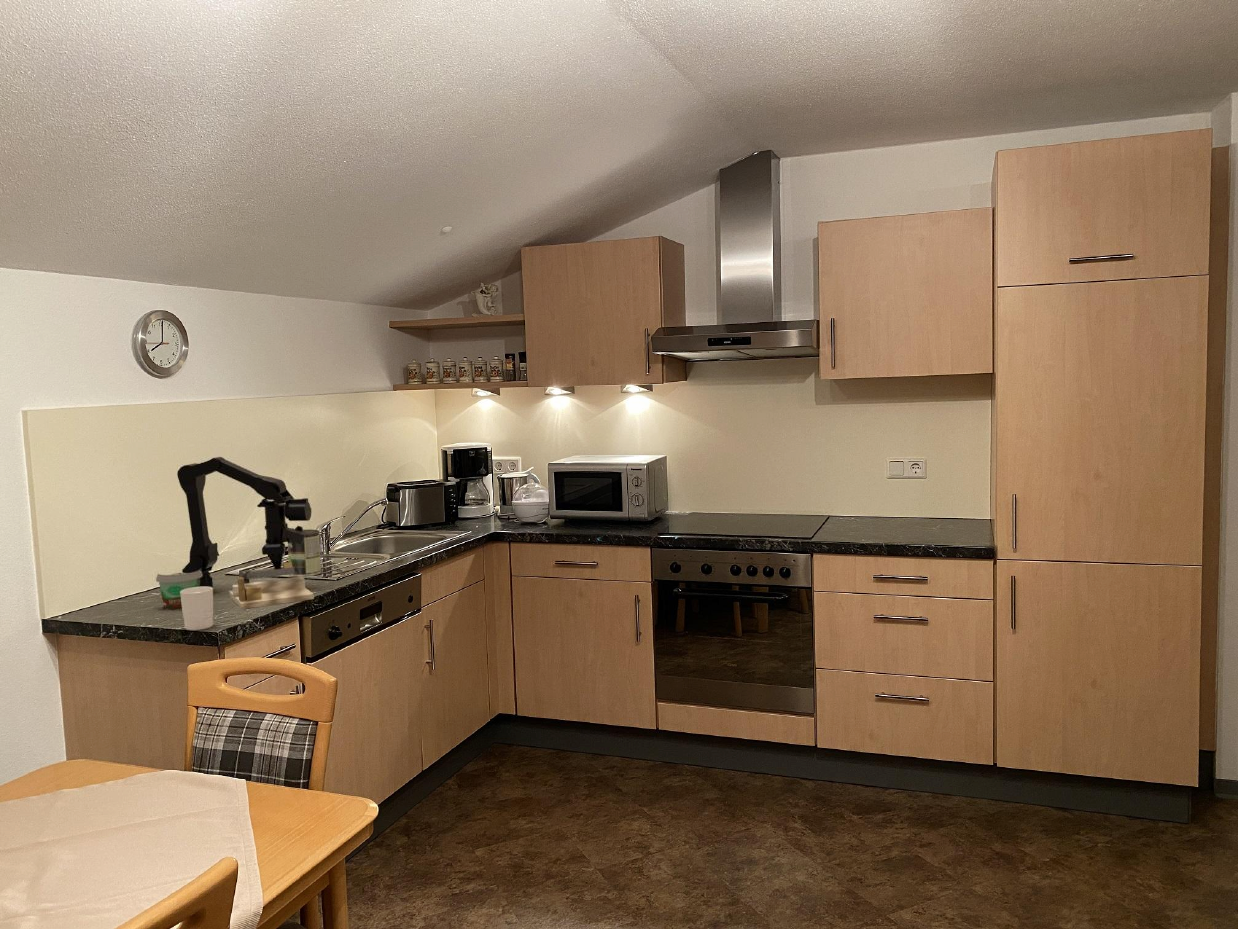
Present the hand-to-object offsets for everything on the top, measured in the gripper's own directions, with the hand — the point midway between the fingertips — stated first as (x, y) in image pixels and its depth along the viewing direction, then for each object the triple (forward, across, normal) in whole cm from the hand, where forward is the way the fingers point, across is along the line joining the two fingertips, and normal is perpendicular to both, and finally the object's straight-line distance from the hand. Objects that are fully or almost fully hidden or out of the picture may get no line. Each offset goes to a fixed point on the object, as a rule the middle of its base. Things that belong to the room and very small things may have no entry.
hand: (278, 571), depth 290 cm
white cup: (+5, -39, +15) cm, 42 cm away
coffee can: (+7, +25, -5) cm, 27 cm away
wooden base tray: (+6, -9, +1) cm, 11 cm away
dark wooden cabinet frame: (+1, -3, +3) cm, 4 cm away
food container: (+6, -12, +25) cm, 29 cm away
